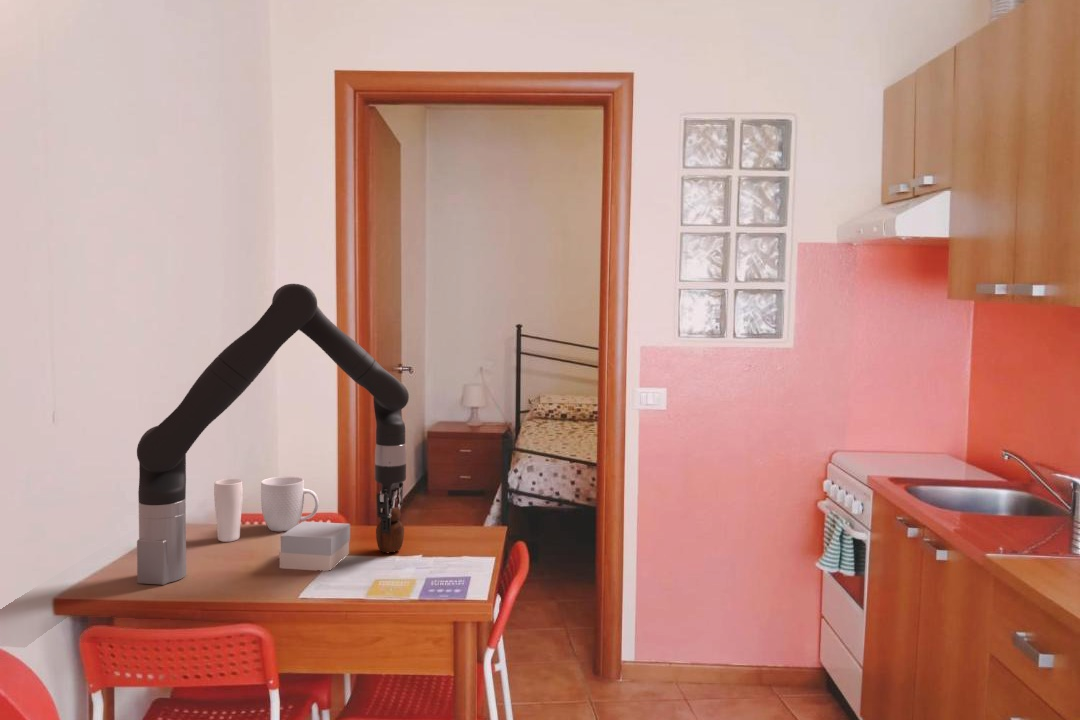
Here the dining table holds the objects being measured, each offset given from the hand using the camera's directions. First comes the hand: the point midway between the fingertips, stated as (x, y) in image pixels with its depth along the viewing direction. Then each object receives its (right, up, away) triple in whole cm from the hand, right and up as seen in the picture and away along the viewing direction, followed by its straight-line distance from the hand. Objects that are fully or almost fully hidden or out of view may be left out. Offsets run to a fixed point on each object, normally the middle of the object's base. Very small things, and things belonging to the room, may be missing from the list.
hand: (390, 528), depth 189 cm
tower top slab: (-16, -2, -8) cm, 18 cm away
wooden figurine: (0, -6, 0) cm, 6 cm away
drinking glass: (-43, -5, +7) cm, 43 cm away
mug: (-31, -4, +18) cm, 36 cm away
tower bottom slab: (-16, -6, -8) cm, 19 cm away
